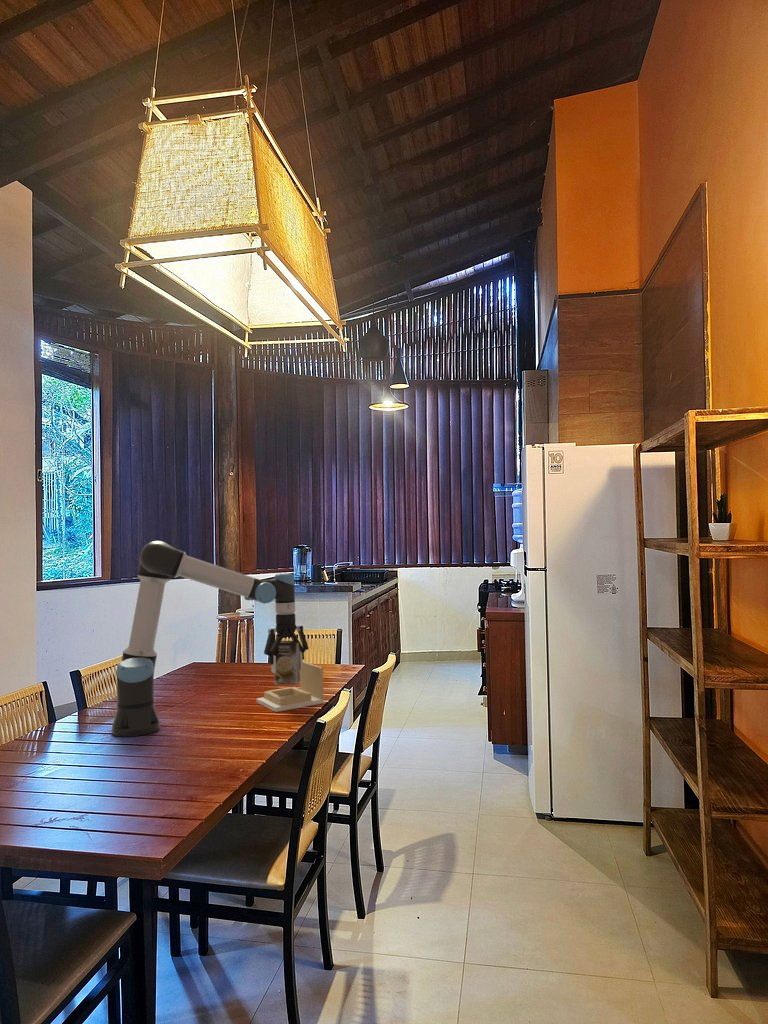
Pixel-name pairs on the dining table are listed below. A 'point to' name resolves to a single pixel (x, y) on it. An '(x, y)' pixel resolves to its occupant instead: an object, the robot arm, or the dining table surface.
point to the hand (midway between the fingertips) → (287, 670)
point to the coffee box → (287, 663)
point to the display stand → (297, 691)
